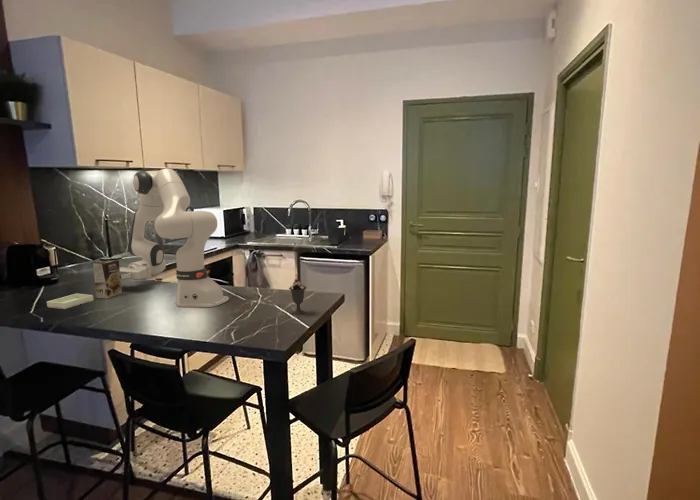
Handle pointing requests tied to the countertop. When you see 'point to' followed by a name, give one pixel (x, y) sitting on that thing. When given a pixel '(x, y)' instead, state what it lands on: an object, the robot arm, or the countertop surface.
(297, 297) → the sundae
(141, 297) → the countertop surface
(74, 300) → the tray
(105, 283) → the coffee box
